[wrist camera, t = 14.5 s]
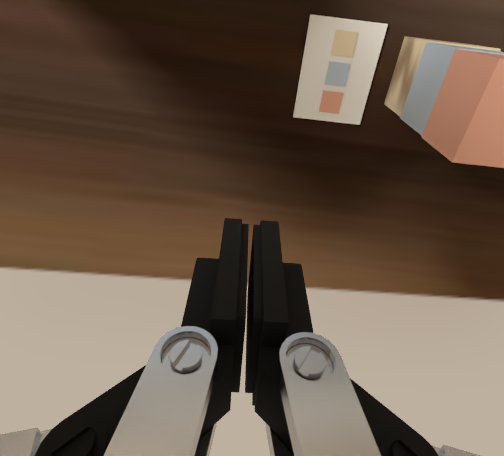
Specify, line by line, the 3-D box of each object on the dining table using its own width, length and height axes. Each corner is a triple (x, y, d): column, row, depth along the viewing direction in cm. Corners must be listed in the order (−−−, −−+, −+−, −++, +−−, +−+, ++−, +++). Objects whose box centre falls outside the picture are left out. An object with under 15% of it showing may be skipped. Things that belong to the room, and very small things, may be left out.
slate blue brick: (426, 41, 26) (457, 47, 22) (499, 51, 26) (544, 59, 22) (399, 118, 30) (421, 135, 25) (465, 126, 30) (497, 145, 26)
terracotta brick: (455, 49, 22) (499, 58, 18) (542, 59, 22) (606, 70, 18) (421, 137, 25) (452, 162, 21) (497, 145, 26) (543, 172, 21)
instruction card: (310, 14, 30) (310, 14, 29) (387, 24, 30) (388, 24, 29) (292, 116, 35) (293, 117, 34) (359, 124, 35) (360, 125, 34)
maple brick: (404, 36, 30) (426, 40, 26) (468, 43, 31) (501, 49, 26) (383, 104, 34) (400, 117, 30) (441, 110, 34) (466, 124, 30)
